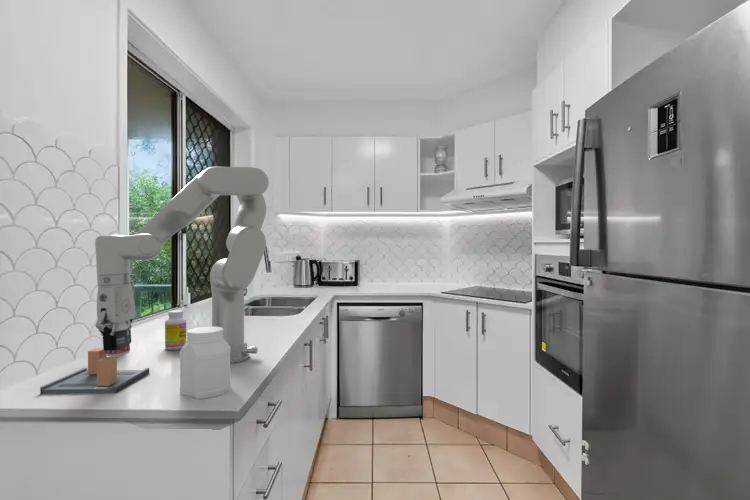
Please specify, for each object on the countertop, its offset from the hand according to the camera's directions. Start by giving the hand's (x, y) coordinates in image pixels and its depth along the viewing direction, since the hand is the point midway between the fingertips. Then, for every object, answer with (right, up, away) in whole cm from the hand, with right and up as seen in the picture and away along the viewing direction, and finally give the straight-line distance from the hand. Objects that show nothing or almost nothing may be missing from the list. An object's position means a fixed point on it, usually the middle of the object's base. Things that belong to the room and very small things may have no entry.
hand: (117, 346), depth 111 cm
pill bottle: (0, -2, 0) cm, 2 cm away
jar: (+28, -9, -10) cm, 31 cm away
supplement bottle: (+1, -8, +31) cm, 32 cm away
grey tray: (-2, -8, -5) cm, 10 cm away
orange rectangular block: (-5, -7, -1) cm, 9 cm away
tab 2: (+3, -7, -10) cm, 12 cm away
